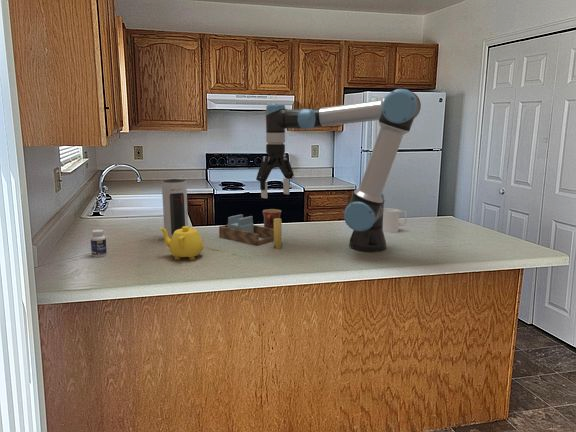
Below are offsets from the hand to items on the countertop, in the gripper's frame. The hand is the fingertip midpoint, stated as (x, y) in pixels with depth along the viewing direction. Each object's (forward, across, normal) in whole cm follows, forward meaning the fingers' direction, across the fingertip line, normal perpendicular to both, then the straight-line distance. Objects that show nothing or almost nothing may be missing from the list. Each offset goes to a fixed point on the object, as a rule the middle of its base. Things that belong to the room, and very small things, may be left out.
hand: (275, 196), depth 199 cm
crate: (+20, +3, -18) cm, 27 cm away
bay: (+21, +3, -14) cm, 25 cm away
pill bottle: (+21, +56, -41) cm, 72 cm away
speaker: (+21, +20, -40) cm, 49 cm away
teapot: (+21, +36, -16) cm, 45 cm away
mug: (+21, -15, -16) cm, 31 cm away
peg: (+21, +2, +2) cm, 21 cm away
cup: (+22, -58, +23) cm, 67 cm away
